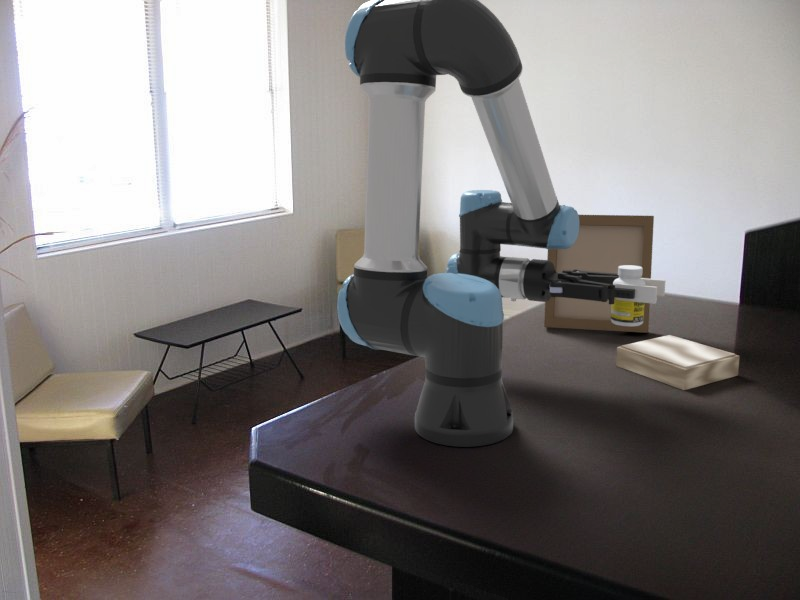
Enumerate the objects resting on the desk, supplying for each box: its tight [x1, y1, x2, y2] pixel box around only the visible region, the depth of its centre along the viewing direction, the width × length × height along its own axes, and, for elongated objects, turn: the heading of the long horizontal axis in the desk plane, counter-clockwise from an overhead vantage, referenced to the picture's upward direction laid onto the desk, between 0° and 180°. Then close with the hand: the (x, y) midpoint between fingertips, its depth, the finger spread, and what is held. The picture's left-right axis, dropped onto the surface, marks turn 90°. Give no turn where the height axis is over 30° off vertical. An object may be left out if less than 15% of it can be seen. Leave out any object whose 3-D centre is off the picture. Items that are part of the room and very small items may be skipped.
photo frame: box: [543, 214, 655, 334], centre depth 175 cm, size 15×22×25 cm
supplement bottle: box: [611, 265, 646, 326], centre depth 136 cm, size 5×5×10 cm
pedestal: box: [615, 334, 740, 391], centre depth 147 cm, size 14×16×4 cm
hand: (660, 291), depth 133 cm, fingers closed on supplement bottle, 5 cm apart
